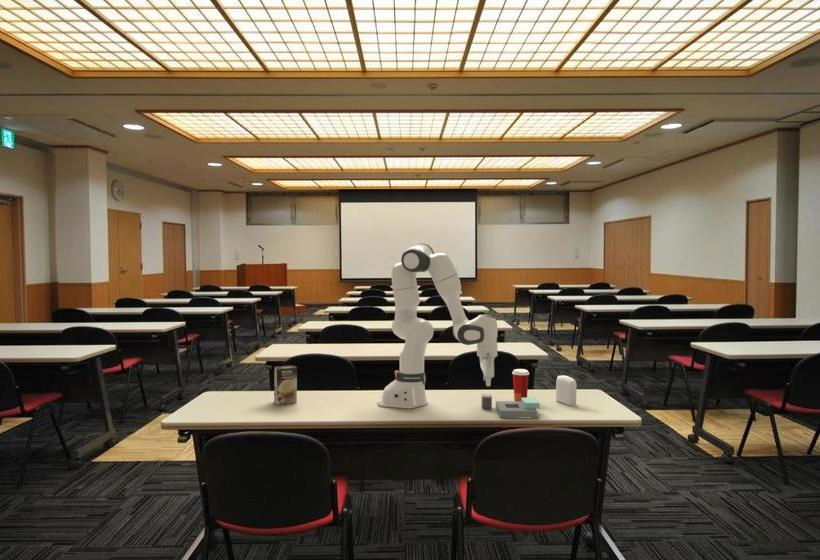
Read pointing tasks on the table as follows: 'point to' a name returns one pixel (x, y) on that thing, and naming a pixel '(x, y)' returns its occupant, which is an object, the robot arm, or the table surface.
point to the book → (566, 390)
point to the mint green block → (530, 403)
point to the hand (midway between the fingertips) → (486, 383)
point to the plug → (486, 401)
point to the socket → (514, 409)
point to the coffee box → (285, 385)
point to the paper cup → (520, 383)
